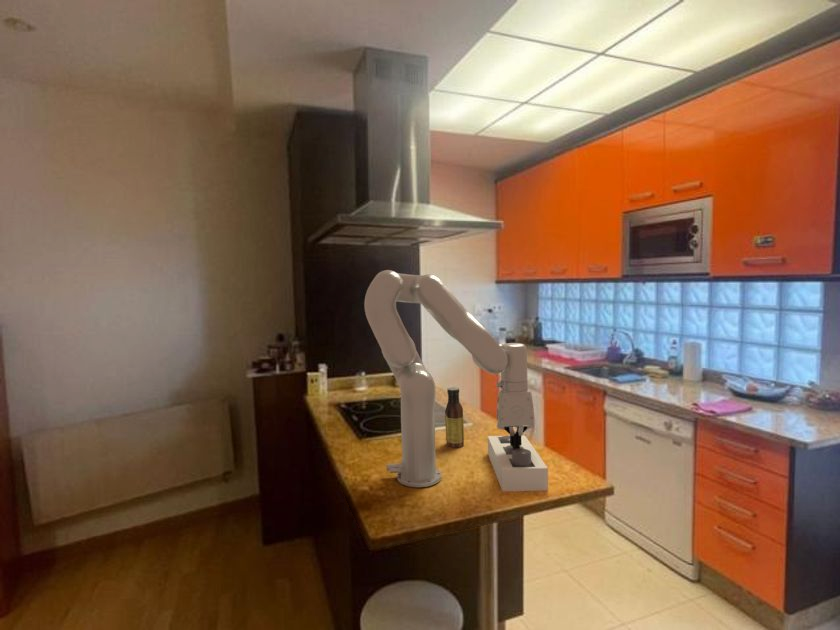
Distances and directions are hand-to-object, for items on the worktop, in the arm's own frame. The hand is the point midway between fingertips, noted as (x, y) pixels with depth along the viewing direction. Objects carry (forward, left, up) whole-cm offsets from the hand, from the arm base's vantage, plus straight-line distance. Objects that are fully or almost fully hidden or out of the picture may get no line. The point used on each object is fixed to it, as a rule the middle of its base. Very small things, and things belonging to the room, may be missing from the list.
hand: (515, 447), depth 127 cm
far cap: (0, +9, -6) cm, 11 cm away
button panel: (0, 0, -7) cm, 7 cm away
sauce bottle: (-16, +22, -7) cm, 28 cm away
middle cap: (0, 0, -5) cm, 6 cm away
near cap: (0, -9, -3) cm, 10 cm away
